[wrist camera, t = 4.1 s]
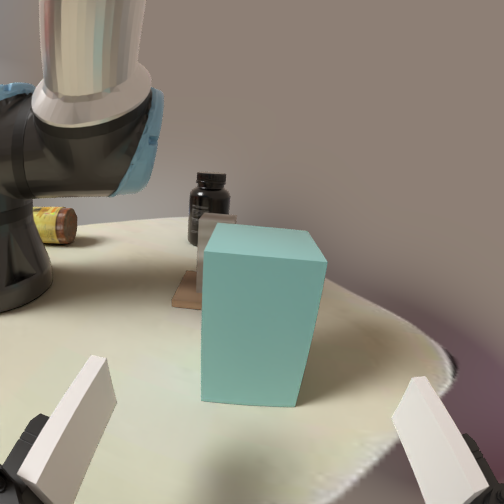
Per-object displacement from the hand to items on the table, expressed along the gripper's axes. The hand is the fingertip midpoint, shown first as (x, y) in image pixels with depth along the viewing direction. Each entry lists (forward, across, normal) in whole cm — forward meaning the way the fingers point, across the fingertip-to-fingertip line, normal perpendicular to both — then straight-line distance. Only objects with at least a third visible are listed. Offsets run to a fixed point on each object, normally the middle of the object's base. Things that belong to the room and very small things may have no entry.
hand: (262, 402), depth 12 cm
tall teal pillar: (+9, 0, -6) cm, 11 cm away
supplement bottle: (+42, -8, -7) cm, 43 cm away
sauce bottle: (+35, -30, -4) cm, 46 cm away
